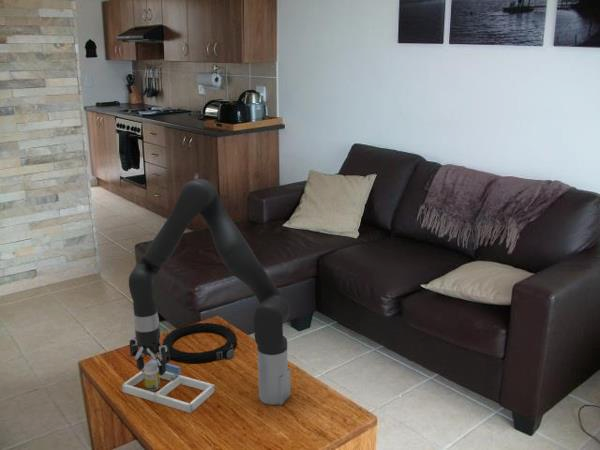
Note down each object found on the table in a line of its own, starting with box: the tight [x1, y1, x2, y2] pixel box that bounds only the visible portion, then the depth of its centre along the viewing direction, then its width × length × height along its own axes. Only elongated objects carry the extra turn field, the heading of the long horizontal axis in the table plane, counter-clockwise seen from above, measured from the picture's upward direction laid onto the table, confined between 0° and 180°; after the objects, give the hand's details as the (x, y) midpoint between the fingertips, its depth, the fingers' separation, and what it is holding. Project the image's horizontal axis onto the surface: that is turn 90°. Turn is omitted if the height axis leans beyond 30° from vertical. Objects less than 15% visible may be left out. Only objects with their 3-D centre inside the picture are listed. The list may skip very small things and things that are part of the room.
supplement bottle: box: [144, 360, 161, 392], centre depth 190 cm, size 5×5×8 cm
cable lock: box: [161, 322, 238, 364], centre depth 217 cm, size 28×4×30 cm
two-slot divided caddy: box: [121, 358, 216, 414], centre depth 188 cm, size 27×14×5 cm, turn 64°
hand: (151, 371), depth 189 cm, fingers open, 8 cm apart
